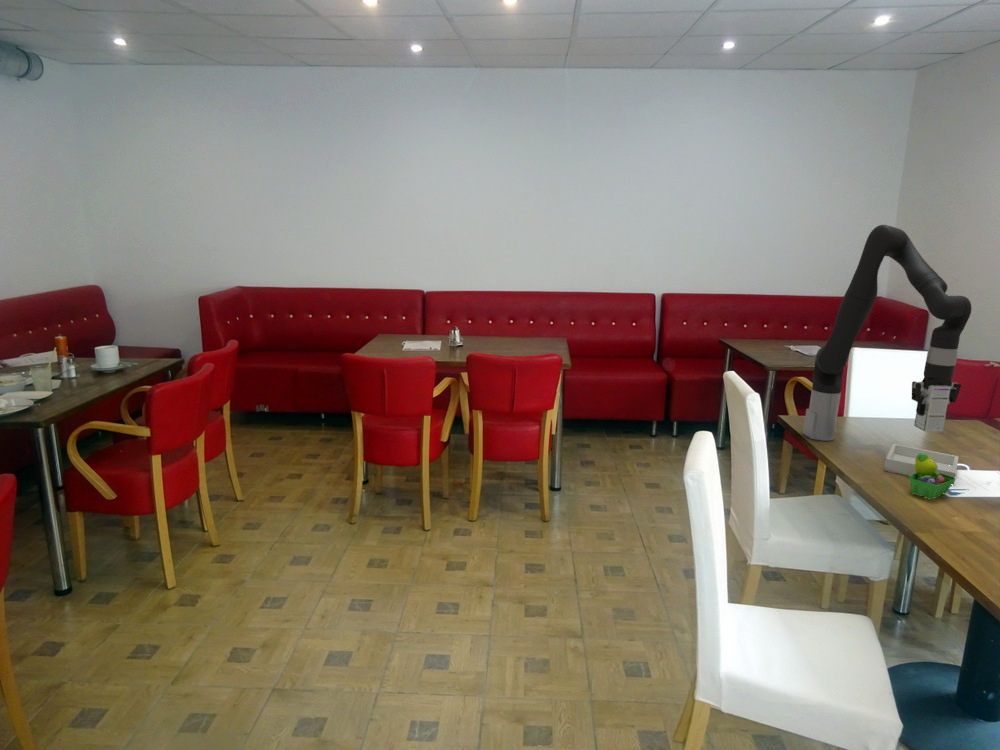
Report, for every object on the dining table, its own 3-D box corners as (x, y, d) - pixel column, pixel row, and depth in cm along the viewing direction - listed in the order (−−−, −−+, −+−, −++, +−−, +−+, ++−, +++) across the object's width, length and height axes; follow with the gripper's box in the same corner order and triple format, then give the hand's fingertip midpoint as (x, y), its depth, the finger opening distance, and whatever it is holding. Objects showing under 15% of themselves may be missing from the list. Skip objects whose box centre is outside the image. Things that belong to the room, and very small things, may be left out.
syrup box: (943, 432, 198) (952, 386, 195) (924, 431, 198) (932, 386, 195) (931, 426, 204) (940, 381, 200) (912, 426, 204) (920, 381, 200)
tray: (953, 485, 192) (955, 473, 191) (883, 470, 202) (885, 458, 201) (956, 468, 206) (958, 456, 205) (891, 454, 216) (893, 443, 215)
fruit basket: (933, 503, 180) (941, 464, 177) (900, 491, 187) (907, 454, 184) (953, 494, 185) (961, 457, 183) (920, 483, 193) (927, 447, 190)
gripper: (925, 364, 192) (915, 418, 196) (973, 365, 192) (962, 419, 196) (909, 358, 199) (900, 411, 203) (955, 359, 200) (945, 412, 204)
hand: (930, 414), depth 200 cm, fingers closed on syrup box, 6 cm apart
